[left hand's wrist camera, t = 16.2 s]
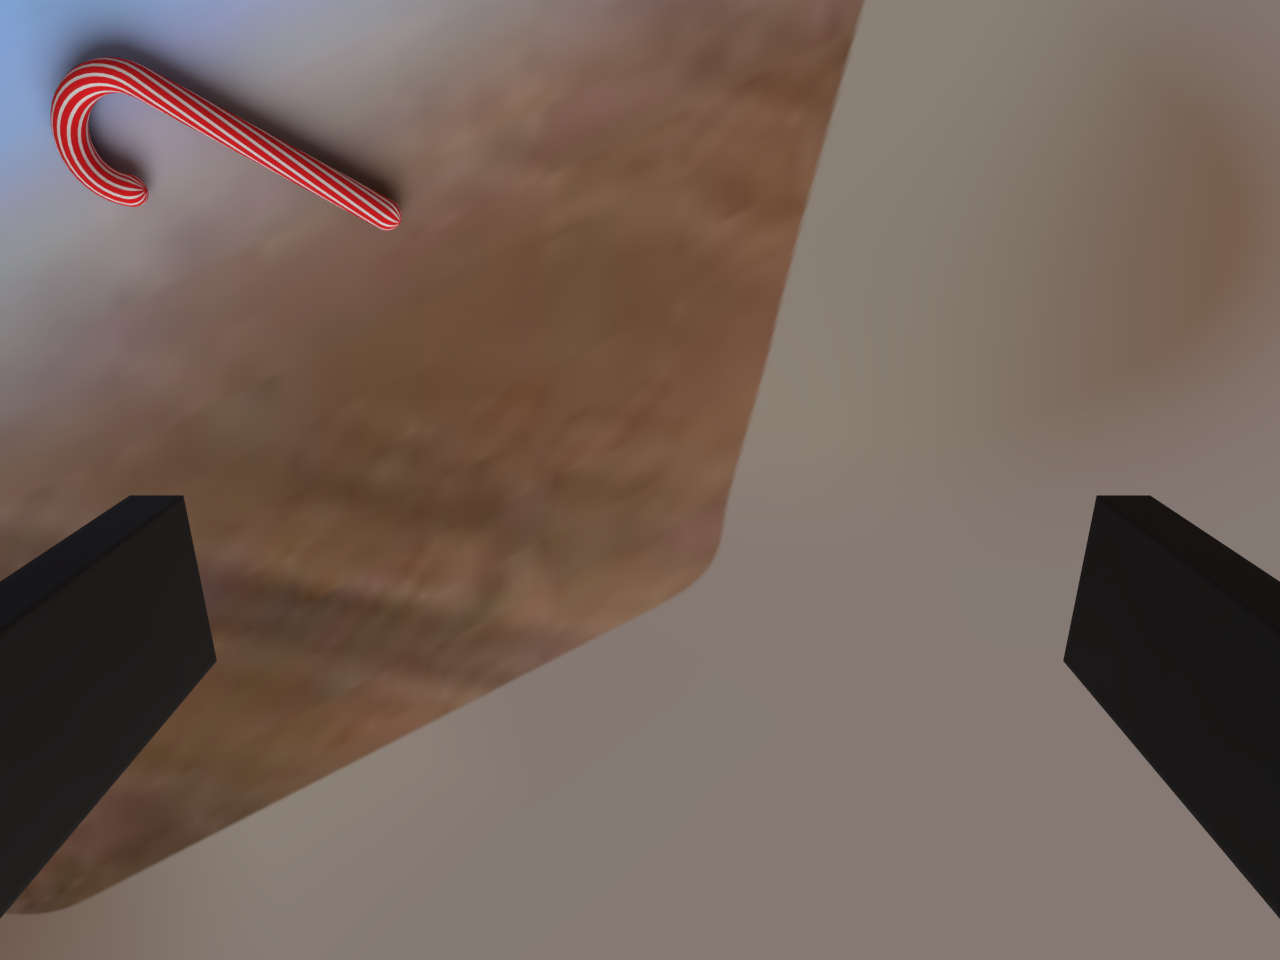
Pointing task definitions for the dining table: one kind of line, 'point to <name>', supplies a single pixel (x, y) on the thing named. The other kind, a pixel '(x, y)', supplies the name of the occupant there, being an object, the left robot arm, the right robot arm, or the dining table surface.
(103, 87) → the candy cane
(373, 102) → the dining table surface
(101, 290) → the dining table surface
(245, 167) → the dining table surface
